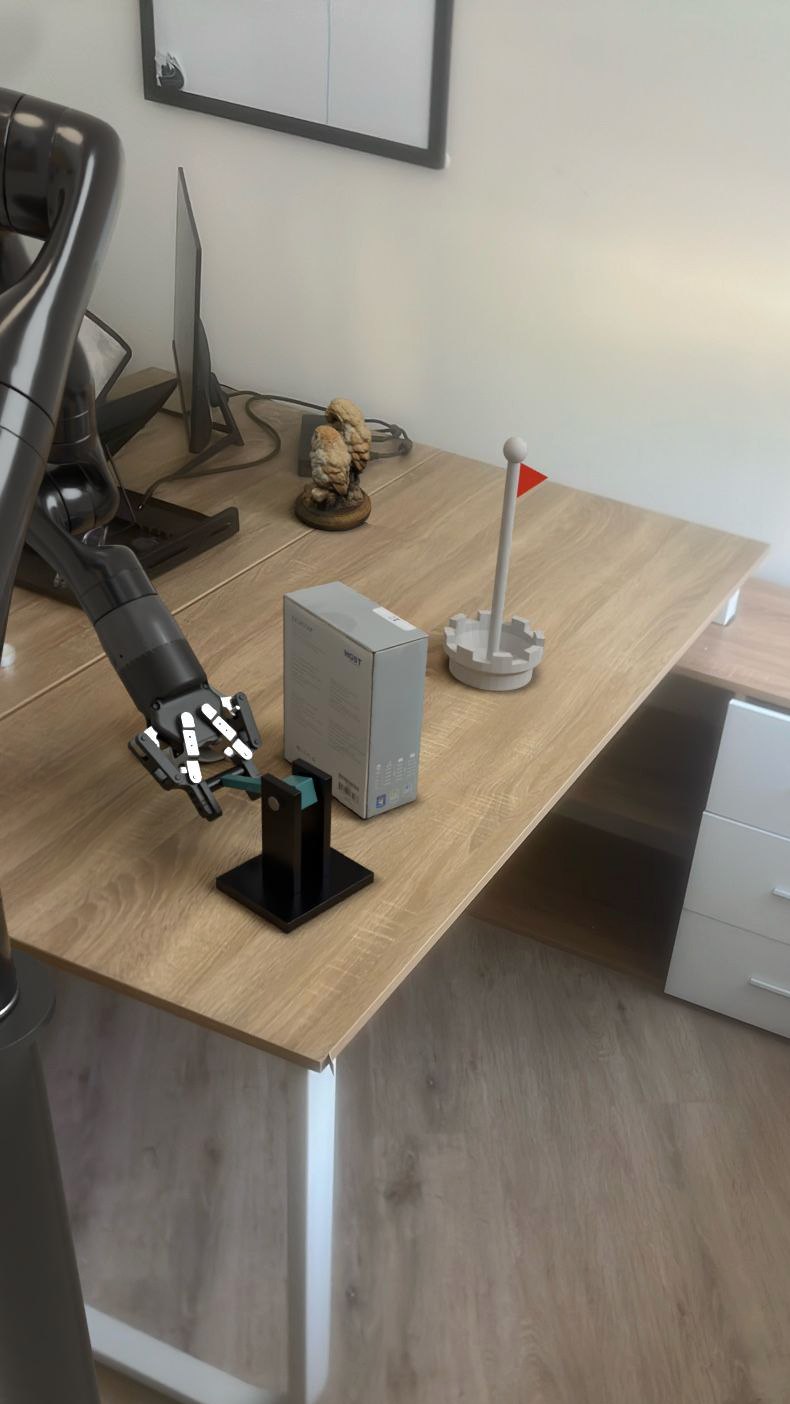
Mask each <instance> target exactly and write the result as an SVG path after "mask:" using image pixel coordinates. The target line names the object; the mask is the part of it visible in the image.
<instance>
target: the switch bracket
mask: <svg viewBox="0 0 790 1404" xmlns="http://www.w3.org/2000/svg"><path fill="white" fill-rule="evenodd" d="M291 775H296V776H302V777H309V778H312V780H313V784H314V789H315V793H316V797H317V802H315V803H313V804H311V805H309V806H307V807H306V808H304V809H302V792H301V791H299V790H298V789H296V788H294V787H293V786H291V785H289V784H287V783H286V782H284V781H282V780H283V779H280V778H279V777H277V776H275V775H274V774H272V773H270V772H266V773H264V774H263V775H261V798H260V807H261V809H260V813H261V814H260V816H261V819H260V820H261V853H260V854H257V855H256V856H254V857H252V858H250V859H248V860H246V861H245V862H243V863H240V864H238V865H237V866H235V867H233V868H231V869H230V870H227V871H225V872H224V873H222V874H220V875H218V876H216V877H215V888H216V889H218V890H219V891H222V893H224V894H226V895H227V896H229V897H230V898H232V899H234V900H235V901H236V902H238V903H240V904H241V905H243V906H244V907H246V908H247V909H249V910H250V911H252V912H253V913H255V914H256V915H258V916H259V917H261V918H263V919H265V921H267V922H269V923H271V924H272V925H274V927H277V928H278V929H280V930H281V931H283V932H285V934H290V933H291V932H293V931H295V930H296V929H298V928H300V927H302V926H303V925H305V924H306V923H308V922H310V921H312V920H313V919H315V918H316V917H318V916H320V915H322V914H323V913H325V912H326V911H329V910H330V909H332V908H333V907H335V906H337V905H338V904H340V903H341V902H343V901H345V900H346V899H348V898H349V897H352V896H353V895H355V894H357V893H358V892H360V891H361V890H363V889H364V888H366V887H368V886H369V885H372V884H373V883H374V882H375V872H374V871H373V870H371V869H369V868H367V867H366V866H364V865H362V864H361V863H359V862H357V861H355V860H354V859H352V858H350V857H349V856H347V855H345V854H343V853H342V852H340V851H339V850H337V849H335V848H333V847H332V845H331V842H332V841H331V840H332V807H333V806H332V805H333V801H332V800H333V799H332V798H333V795H332V776H331V775H329V774H327V773H326V772H324V771H322V770H320V769H319V768H317V767H315V766H313V765H312V764H310V763H308V762H306V761H305V760H303V759H301V758H297V759H295V760H293V761H292V763H291Z"/></svg>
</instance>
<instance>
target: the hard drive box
mask: <svg viewBox="0 0 790 1404" xmlns="http://www.w3.org/2000/svg"><path fill="white" fill-rule="evenodd" d="M282 620H283V621H282V626H283V627H282V651H283V652H282V653H283V654H282V655H283V659H282V661H283V662H282V663H283V665H282V667H283V669H282V676H283V677H282V678H283V679H282V680H283V681H282V683H283V699H282V700H283V704H282V705H283V706H282V707H283V716H282V717H283V758H284V759H285V760H287V761H288V762H289V763H290V764H292V761H293V760H295V759H297V758H301V759H303V760H305V761H306V762H308V763H310V764H312V765H313V766H315V767H317V768H319V769H320V770H322V771H324V772H326V773H327V774H329V775H331V776H332V797H334V798H336V799H337V800H338V801H339V802H340V803H342V804H343V805H344V806H346V807H347V808H348V809H350V810H352V811H353V812H354V813H355V814H357V815H358V816H359V817H360V818H361V819H370V818H372V817H376V816H377V815H380V814H382V813H385V812H387V811H390V810H393V809H395V808H398V807H401V806H403V805H405V804H408V803H411V802H413V801H416V800H417V793H418V781H419V770H420V769H419V768H420V754H421V741H422V728H423V727H422V726H423V715H424V701H425V689H426V688H425V685H426V673H427V672H426V671H427V661H428V660H427V659H428V647H429V646H428V645H429V638H430V635H429V634H428V633H426V632H424V631H423V630H422V629H419V628H418V627H417V626H415V625H414V624H411V623H410V622H408V621H406V620H404V619H403V618H402V617H400V616H398V615H396V614H395V613H393V612H392V611H390V610H388V609H386V608H385V607H383V606H382V605H380V604H378V603H376V602H375V601H373V600H371V599H369V598H368V597H366V596H365V595H363V594H361V593H359V592H358V591H356V590H354V589H353V588H351V587H349V586H347V585H346V584H344V583H342V582H341V581H339V580H337V581H332V582H328V583H324V584H320V585H316V586H311V587H307V588H303V589H299V590H295V591H291V592H285V593H283V595H282Z"/></svg>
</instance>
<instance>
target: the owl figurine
mask: <svg viewBox="0 0 790 1404" xmlns="http://www.w3.org/2000/svg"><path fill="white" fill-rule="evenodd" d="M323 422H324V424H323V425H321V424H320V425H319V426H316V428H315V429H314V430H313V435H312V437H311V441H310V442H311V443H310V445H311V447H312V448H311V451H310V452H309V454H308V455H309V460H310V462H311V463H310V466H311V478H312V482H311V481H310V482H309V483H305V484H304V486H303V489H304V490H303V491H302V492H300V493H299V494H298V496H296V499H295V501H294V513H295V515H296V517H297V518H298V519H299V521H300V522H302V523H304V524H306V525H307V526H308V527H311V528H313V529H317V530H318V529H319V530H323V531H332V532H337V531H339V532H343V531H348V530H352V529H355V528H357V527H359V526H361V525H362V524H364V523H365V522H366V521H368V519H369V517H370V516H371V512H372V500H371V498H370V496H369V494H368V493H367V492H365V491H364V490H363V488H362V487H361V486H360V484H361V477H360V475H363V474H364V473H365V471H364V470H365V469H366V468H367V465H368V461H370V460H371V455H370V453H371V450H372V447H371V446H372V439H373V438H372V431H371V429H370V428H369V427H368V426H367V425H366V421H365V417H364V415H363V414H362V411H361V408H360V407H358V405H357V404H355V402H353V401H351V400H349V399H347V398H341V397H340V398H338V397H337V398H333V399H332V400H331V401H330V403H329V404H328V406H327V408H326V409H325V411H324V421H323Z"/></svg>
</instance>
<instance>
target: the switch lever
mask: <svg viewBox="0 0 790 1404" xmlns="http://www.w3.org/2000/svg"><path fill="white" fill-rule="evenodd" d="M245 776H246V772H245V769H244V767H243V766H242V765H240V764H238V765H235V766H233V765H232V766H231V767H229V768H226V769H225V770H222V771H221V772H218V773H216V774H214V775H212V776H210V777H208V778H206V779H203V780H201V782H204V781H205V782H206V783H207V785H208V787H209V789H210V790H211V792H212V794H213V793H215V792H217V791H219V790H221V789H223V788H228V789H233V790H240V791H244V792H245V791H250V792H256V793H261V779H257V778H251V777H245ZM281 780H282V781H284V782H286V783H287V784H289V785H291V786H293V787H294V788H296V789H298V790H299V791H301V792H302V809H304V808H306V807H307V806H309V805H311V804H313V803H315V802H317V797H316V793H315V789H314V784H313V780H312V778H309V777H302V776H296V775H292V774H290V775H289V776H287V777H285V778H283V779H281Z"/></svg>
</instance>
